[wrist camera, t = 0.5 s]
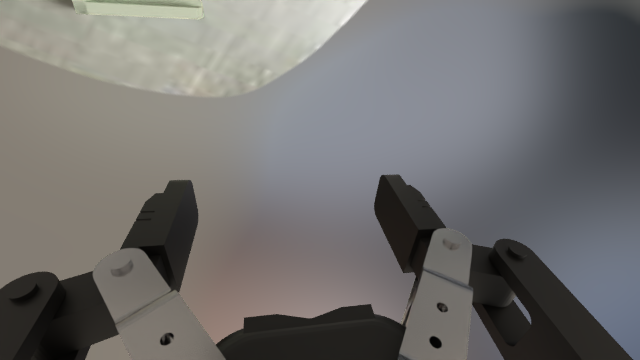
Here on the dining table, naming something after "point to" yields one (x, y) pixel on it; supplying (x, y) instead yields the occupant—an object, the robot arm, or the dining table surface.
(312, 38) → the dining table surface
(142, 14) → the tray
